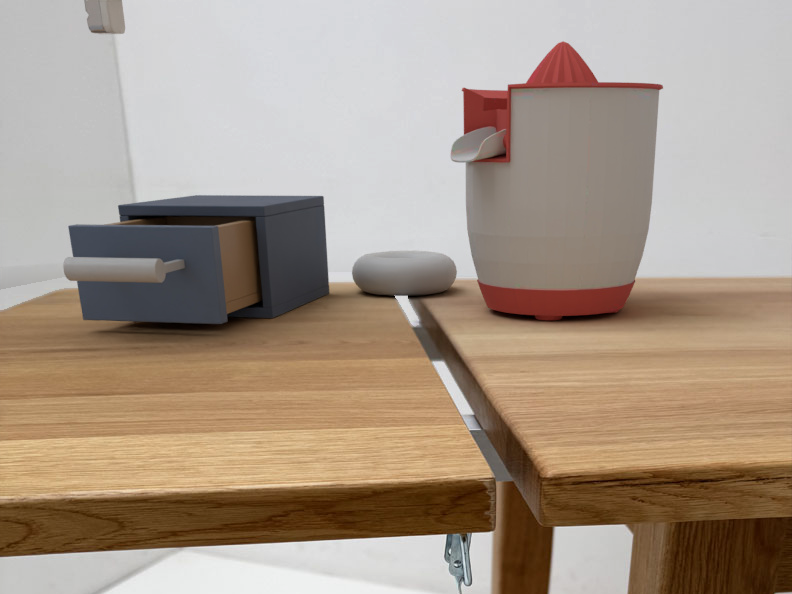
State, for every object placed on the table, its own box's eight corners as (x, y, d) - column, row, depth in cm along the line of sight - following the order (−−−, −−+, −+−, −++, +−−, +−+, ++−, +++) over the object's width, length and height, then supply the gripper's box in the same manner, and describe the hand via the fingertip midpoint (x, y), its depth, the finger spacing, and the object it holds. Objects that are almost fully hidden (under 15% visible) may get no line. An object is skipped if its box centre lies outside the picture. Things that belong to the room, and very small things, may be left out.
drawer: (192, 336, 72) (180, 233, 69) (45, 331, 74) (28, 231, 71) (286, 298, 88) (279, 213, 85) (164, 295, 90) (153, 212, 87)
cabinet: (272, 318, 84) (263, 206, 80) (132, 314, 86) (117, 204, 83) (329, 293, 97) (323, 195, 93) (206, 290, 99) (195, 195, 96)
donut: (371, 284, 104) (337, 296, 95) (370, 248, 102) (336, 257, 93) (467, 287, 101) (442, 299, 93) (467, 250, 100) (441, 259, 91)
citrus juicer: (411, 309, 88) (403, 44, 80) (568, 292, 97) (577, 51, 88) (518, 335, 76) (523, 27, 68) (687, 313, 85) (710, 37, 76)
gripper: (-224, -262, 54) (-155, 36, 60) (130, -296, 50) (167, 26, 56) (-138, -225, 60) (-83, 44, 66) (186, -254, 56) (214, 35, 62)
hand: (35, 36), depth 61 cm, fingers open, 8 cm apart
